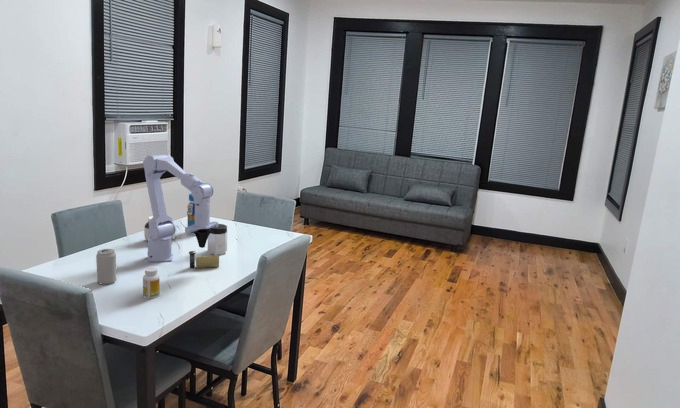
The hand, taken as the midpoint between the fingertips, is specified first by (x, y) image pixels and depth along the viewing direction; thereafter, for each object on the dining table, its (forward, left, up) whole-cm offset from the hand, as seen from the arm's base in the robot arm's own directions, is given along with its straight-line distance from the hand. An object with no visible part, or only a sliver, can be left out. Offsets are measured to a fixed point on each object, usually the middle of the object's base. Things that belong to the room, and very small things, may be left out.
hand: (201, 246), depth 193 cm
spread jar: (-18, +40, -10) cm, 45 cm away
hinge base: (+1, +4, -10) cm, 10 cm away
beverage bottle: (-2, +52, -10) cm, 53 cm away
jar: (+7, +22, -10) cm, 26 cm away
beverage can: (-34, -9, -10) cm, 36 cm away
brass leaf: (+2, +3, -9) cm, 10 cm away
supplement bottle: (-17, -23, -10) cm, 30 cm away
